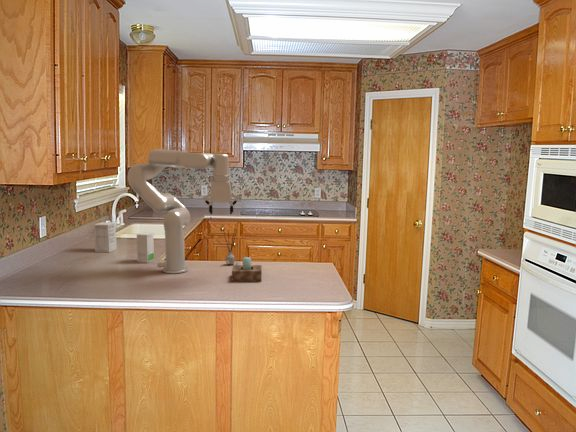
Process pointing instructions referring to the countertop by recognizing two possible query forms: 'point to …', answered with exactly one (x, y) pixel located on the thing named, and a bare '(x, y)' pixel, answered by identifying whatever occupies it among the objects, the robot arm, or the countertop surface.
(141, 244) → the skincare box
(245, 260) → the peg
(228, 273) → the countertop surface
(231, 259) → the reed diffuser
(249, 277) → the socket block
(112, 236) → the supplement box
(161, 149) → the robot arm
